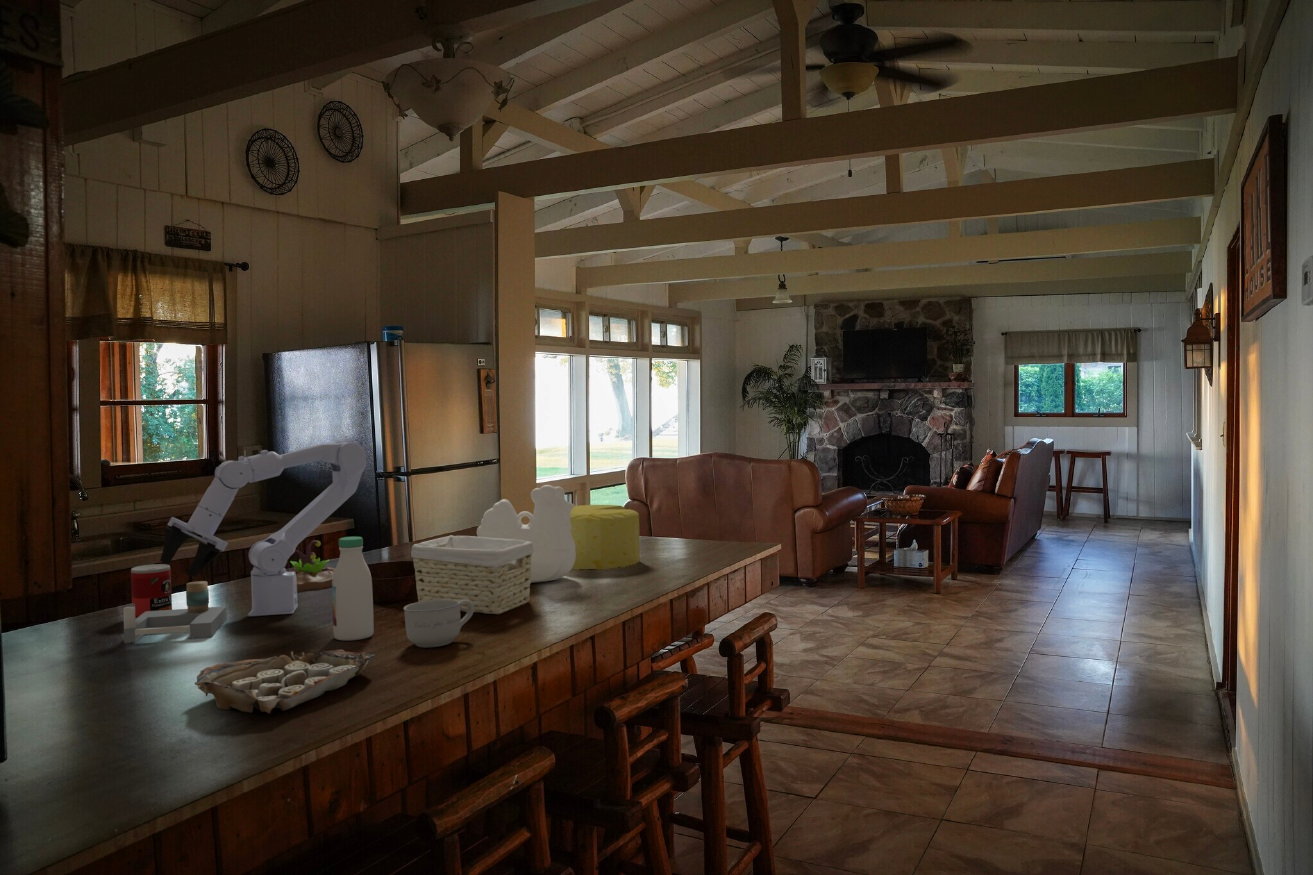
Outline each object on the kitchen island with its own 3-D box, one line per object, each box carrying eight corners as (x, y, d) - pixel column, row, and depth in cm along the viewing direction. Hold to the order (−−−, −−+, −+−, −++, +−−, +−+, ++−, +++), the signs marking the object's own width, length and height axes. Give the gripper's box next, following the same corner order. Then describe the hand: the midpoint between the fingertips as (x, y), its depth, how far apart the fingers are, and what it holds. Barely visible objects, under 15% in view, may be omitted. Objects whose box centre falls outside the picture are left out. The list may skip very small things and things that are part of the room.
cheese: (654, 556, 275) (654, 505, 274) (614, 572, 251) (613, 517, 250) (576, 551, 285) (575, 502, 285) (531, 566, 262) (529, 513, 261)
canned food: (156, 620, 204) (153, 570, 204) (124, 619, 206) (122, 570, 205) (180, 612, 212) (178, 564, 211) (149, 611, 213) (147, 563, 213)
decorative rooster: (584, 575, 247) (582, 481, 246) (563, 588, 232) (561, 488, 231) (496, 572, 254) (494, 480, 252) (470, 584, 238) (468, 487, 237)
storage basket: (538, 602, 218) (536, 539, 217) (499, 618, 203) (497, 550, 202) (452, 594, 227) (451, 534, 226) (409, 609, 212) (407, 544, 212)
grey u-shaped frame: (226, 619, 204) (225, 588, 204) (211, 637, 189) (209, 603, 189) (146, 625, 200) (144, 592, 200) (123, 644, 185) (121, 609, 185)
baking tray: (296, 662, 173) (295, 633, 173) (397, 670, 166) (396, 640, 166) (164, 715, 145) (163, 680, 145) (280, 727, 138) (278, 691, 138)
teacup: (411, 654, 175) (410, 612, 175) (399, 641, 185) (397, 601, 184) (484, 644, 181) (483, 603, 181) (468, 631, 191) (467, 593, 191)
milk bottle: (381, 633, 191) (378, 535, 190) (357, 642, 184) (354, 541, 183) (349, 630, 194) (346, 534, 193) (325, 640, 186) (321, 540, 185)
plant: (363, 583, 243) (362, 540, 243) (289, 595, 230) (287, 550, 229) (329, 573, 258) (328, 532, 257) (257, 584, 244) (255, 541, 244)
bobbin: (211, 607, 203) (210, 580, 202) (206, 612, 198) (205, 584, 198) (189, 609, 202) (188, 581, 201) (184, 613, 197) (183, 585, 197)
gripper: (173, 494, 202) (139, 552, 198) (225, 518, 197) (191, 577, 194) (194, 503, 208) (161, 559, 205) (244, 526, 204) (212, 584, 201)
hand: (177, 568), depth 200 cm, fingers open, 7 cm apart
